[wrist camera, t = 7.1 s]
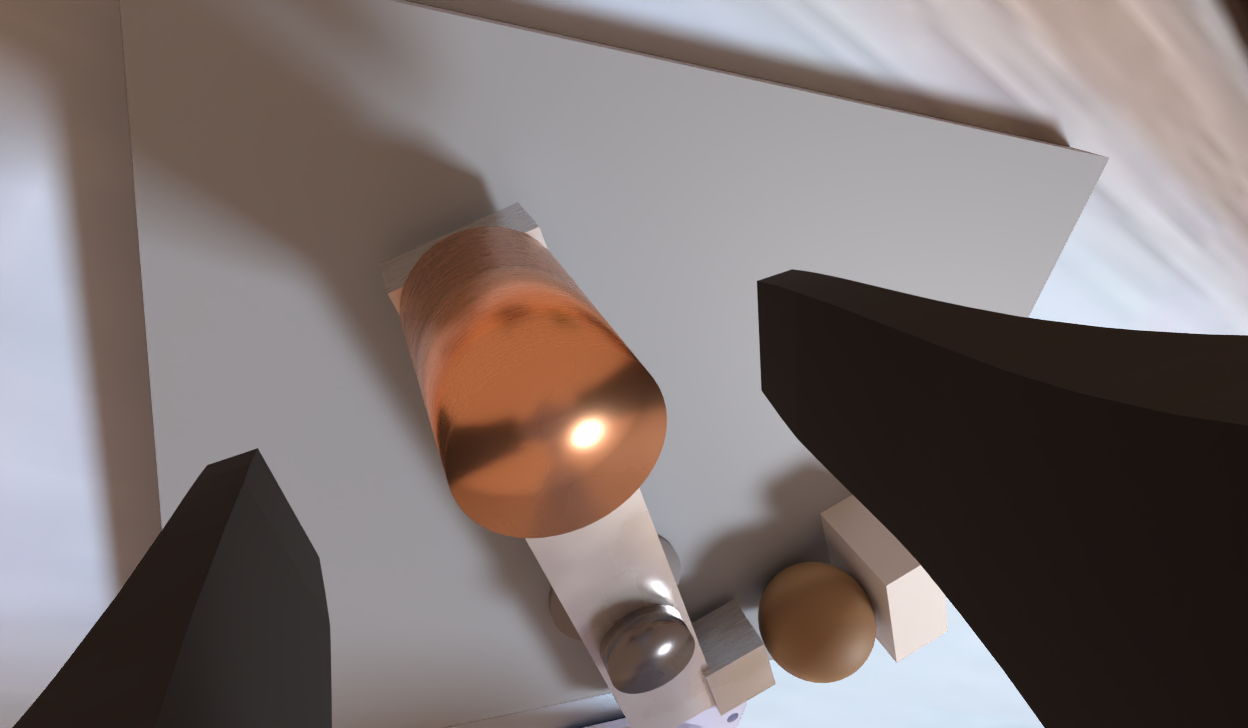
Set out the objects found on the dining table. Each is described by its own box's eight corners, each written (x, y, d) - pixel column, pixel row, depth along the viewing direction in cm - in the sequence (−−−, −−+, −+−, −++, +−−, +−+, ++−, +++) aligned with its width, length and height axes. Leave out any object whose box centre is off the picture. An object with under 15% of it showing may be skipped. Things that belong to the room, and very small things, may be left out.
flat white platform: (845, 616, 29) (921, 710, 26) (187, 740, 19) (166, 919, 16) (1071, 147, 21) (1228, 191, 18) (128, -61, 11) (56, -56, 8)
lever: (746, 639, 24) (859, 812, 20) (623, 709, 24) (709, 907, 19) (592, 137, 14) (756, 250, 9) (359, 237, 13) (403, 417, 8)
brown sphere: (809, 611, 26) (874, 696, 23) (724, 626, 24) (783, 719, 21) (844, 533, 24) (919, 614, 21) (756, 543, 23) (824, 633, 20)
